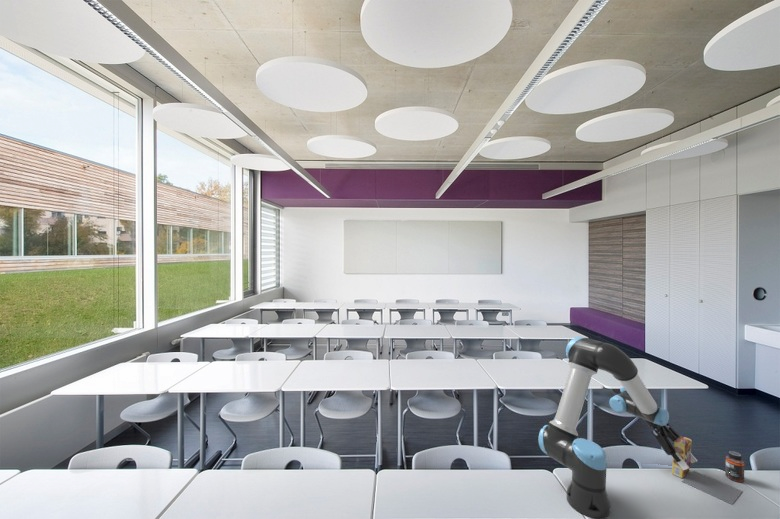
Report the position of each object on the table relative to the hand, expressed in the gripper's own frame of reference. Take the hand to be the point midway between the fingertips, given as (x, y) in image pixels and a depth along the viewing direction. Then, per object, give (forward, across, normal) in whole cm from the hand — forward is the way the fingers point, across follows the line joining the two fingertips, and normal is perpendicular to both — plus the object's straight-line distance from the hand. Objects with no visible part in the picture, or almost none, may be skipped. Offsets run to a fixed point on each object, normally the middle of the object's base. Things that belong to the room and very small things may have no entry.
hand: (690, 465), depth 155 cm
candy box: (+2, 0, -6) cm, 6 cm away
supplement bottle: (+12, -16, +4) cm, 20 cm away
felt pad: (+9, 0, +1) cm, 9 cm away
